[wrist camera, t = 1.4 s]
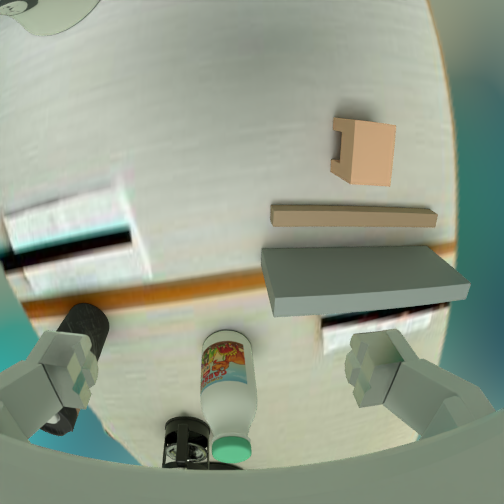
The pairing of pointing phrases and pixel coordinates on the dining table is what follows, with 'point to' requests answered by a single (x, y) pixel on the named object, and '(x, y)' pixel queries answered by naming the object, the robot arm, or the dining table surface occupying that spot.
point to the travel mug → (96, 327)
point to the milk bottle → (228, 394)
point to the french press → (186, 443)
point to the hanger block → (364, 152)
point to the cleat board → (355, 265)
